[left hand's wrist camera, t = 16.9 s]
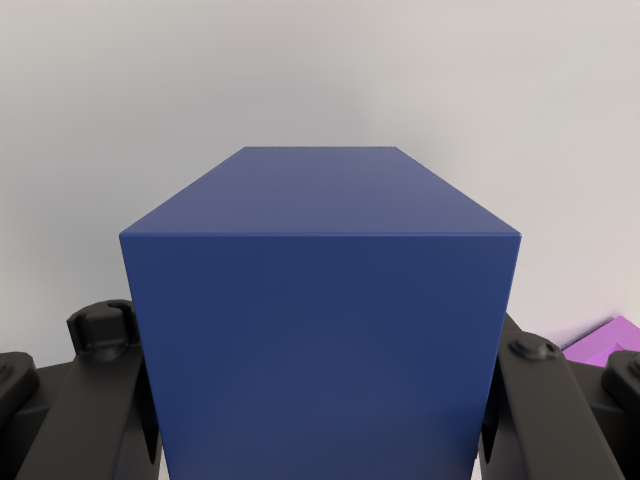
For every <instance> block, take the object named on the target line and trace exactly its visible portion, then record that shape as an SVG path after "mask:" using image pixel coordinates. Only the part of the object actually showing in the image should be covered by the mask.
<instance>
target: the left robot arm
mask: <svg viewBox="0 0 640 480" xmlns="http://www.w3.org/2000/svg"><path fill="white" fill-rule="evenodd" d="M66 322H67V325H68V328H69V332H70V335H71V339H72V342H73V346H74V349H75V352H76V356H75V358H74V360H73V361H72V362H68V363H64V364H59V365H54V366H49V367H44V368H39V369H36V367H35V364H34V361H33V358H32V357H31V356H30V355H29V354H27V353H23V352H9V353H0V480H158V476H159V468H160V460H161V451H162V440H161V435H160V430H159V425H158V421H157V416H156V411H155V406H154V402H153V397H152V392H151V387H150V383H149V378H148V373H147V368H146V363H145V359H144V354H143V349H142V344H141V340H140V335H139V330H138V325H137V320H136V316H135V311H134V306H133V302H132V301H128V300H123V299H122V300H108V301H103V302H98V303H95V304H92V305H90V306H87V307H84V308H82V309H81V310H79V311H77V312H76V313H74V314H73V315H72V316H71V317H70V318H69V319H68V320H67V321H66ZM478 451H479V459H480V467H481V475H482V480H640V352H637V351H630V350H620V351H614V352H613V353H611V354H610V355H609V356H608V359H607V362H606V365H605V367H600V366H595V365H590V364H585V363H580V362H575V361H571V360H567V359H566V358H565V356H564V354H563V353H562V351H561V350H560V349H559V348H558V347H557V346H556V345H555V344H553V343H552V342H550V341H549V340H547V339H545V338H543V337H540V336H538V335H536V334H532V333H528V332H524V331H522V330H521V329H520V328H519V327H518V325H517V324H516V323H515V322H514V321H513V320H512V318H511V317H510V316H509V315H508V314H507V313H506V314H505V319H504V323H503V328H502V333H501V338H500V342H499V347H498V352H497V357H496V361H495V366H494V371H493V376H492V381H491V385H490V390H489V395H488V400H487V404H486V409H485V414H484V419H483V423H482V428H481V433H480V438H479V442H478V447H477V452H476V457H475V459H477V454H478Z"/></svg>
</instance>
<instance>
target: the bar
mask: <svg viewBox="0 0 640 480" xmlns="http://www.w3.org/2000/svg"><path fill="white" fill-rule="evenodd" d="M521 237H522V236H521V233H520V232H518V231H517V230H515V229H514V228H512V227H511V226H510V225H508V224H507V223H505V222H504V221H502V220H501V219H499V218H498V217H496V216H495V215H494V214H492V213H491V212H489V211H488V210H486V209H485V208H483V207H482V206H481V205H479V204H478V203H476V202H475V201H473V200H472V199H470V198H469V197H467V196H466V195H465V194H463V193H462V192H460V191H459V190H457V189H456V188H454V187H453V186H452V185H450V184H449V183H447V182H446V181H444V180H443V179H441V178H440V177H438V176H437V175H436V174H434V173H433V172H431V171H430V170H428V169H427V168H425V167H424V166H423V165H421V164H420V163H418V162H417V161H415V160H414V159H412V158H411V157H409V156H408V155H407V154H405V153H404V152H402V151H401V150H399V149H398V148H396V147H244V148H242V149H241V150H240V151H238V152H237V153H235V154H234V155H232V156H231V157H229V158H228V159H227V160H225V161H224V162H222V163H221V164H219V165H218V166H216V167H215V168H214V169H212V170H211V171H209V172H208V173H206V174H205V175H203V176H202V177H201V178H199V179H198V180H196V181H195V182H193V183H192V184H190V185H189V186H188V187H186V188H185V189H183V190H182V191H180V192H179V193H177V194H176V195H174V196H173V197H172V198H170V199H169V200H167V201H166V202H164V203H163V204H161V205H160V206H159V207H157V208H156V209H154V210H153V211H151V212H150V213H148V214H147V215H146V216H144V217H143V218H141V219H140V220H138V221H137V222H135V223H134V224H133V225H131V226H130V227H128V228H127V229H125V230H124V231H122V232H121V233H120V234H119V239H120V244H121V249H122V254H123V258H124V263H125V268H126V273H127V277H128V282H129V287H130V292H131V297H132V301H133V306H134V311H135V316H136V320H137V325H138V330H139V335H140V340H141V344H142V349H143V354H144V359H145V363H146V368H147V373H148V378H149V383H150V387H151V392H152V397H153V402H154V406H155V411H156V416H157V421H158V425H159V430H160V435H161V440H162V445H163V449H164V454H165V459H166V464H167V468H168V473H169V478H170V480H471V476H472V471H473V466H474V462H475V457H476V452H477V447H478V442H479V438H480V433H481V428H482V423H483V419H484V414H485V409H486V404H487V400H488V395H489V390H490V385H491V381H492V376H493V371H494V366H495V361H496V357H497V352H498V347H499V342H500V338H501V333H502V328H503V323H504V319H505V314H506V309H507V304H508V299H509V295H510V290H511V285H512V280H513V276H514V271H515V266H516V261H517V257H518V252H519V247H520V242H521Z"/></svg>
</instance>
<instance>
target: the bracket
mask: <svg viewBox="0 0 640 480" xmlns="http://www.w3.org/2000/svg"><path fill="white" fill-rule="evenodd" d="M620 350H630V351H637V352H640V329H639V328H638V327H637V326H635V325H634V324H632V323H631V322H630V321H628V320H627V319H626V318H624V317H623V316H621V315H620V316H619V317H617V318H615V319H614V320H612V321H611V322H609V323H607V324H606V325H604V326H602V327H601V328H599V329H598V330H596V331H594V332H593V333H591V334H589V335H588V336H586V337H585V338H583V339H581V340H580V341H578V342H576V343H575V344H573V345H572V346H570V347H568V348H567V349H565V350H563V351H562V353H563V354H564V356H565V358H566V359H567V360H571V361H575V362H580V363H585V364H590V365H595V366H600V367H605V365H606V362H607V359H608V356H609V355H610V354H611V353H613V352H614V351H620Z"/></svg>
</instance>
